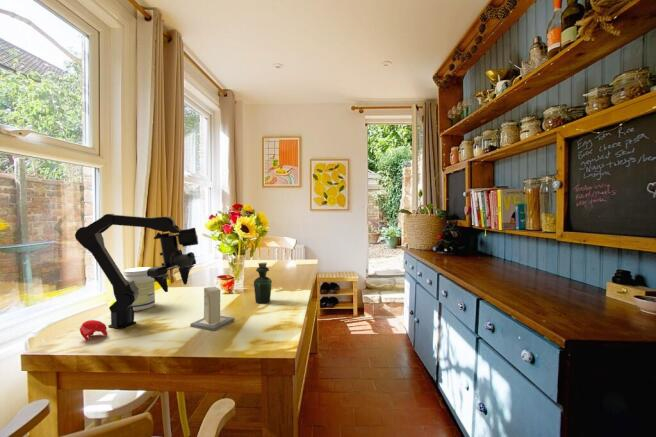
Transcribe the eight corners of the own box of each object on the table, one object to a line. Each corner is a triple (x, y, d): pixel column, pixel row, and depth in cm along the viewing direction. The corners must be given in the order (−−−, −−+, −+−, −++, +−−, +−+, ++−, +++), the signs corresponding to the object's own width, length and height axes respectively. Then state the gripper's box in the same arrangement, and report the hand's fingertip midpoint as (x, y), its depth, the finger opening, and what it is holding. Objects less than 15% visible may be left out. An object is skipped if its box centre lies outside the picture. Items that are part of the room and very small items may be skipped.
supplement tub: (161, 303, 143) (160, 266, 142) (142, 312, 131) (141, 272, 130) (136, 302, 144) (135, 266, 143) (115, 311, 132) (114, 271, 131)
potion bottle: (251, 301, 146) (250, 263, 145) (267, 298, 150) (266, 261, 150) (258, 305, 139) (258, 265, 138) (274, 302, 144) (274, 263, 143)
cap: (75, 334, 100) (94, 322, 102) (76, 323, 104) (94, 312, 106) (93, 348, 104) (111, 336, 106) (93, 336, 109) (110, 325, 111)
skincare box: (203, 319, 119) (203, 287, 118) (215, 317, 122) (214, 286, 121) (209, 324, 114) (208, 291, 114) (221, 321, 117) (220, 289, 116)
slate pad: (213, 330, 111) (213, 327, 111) (190, 326, 115) (190, 323, 115) (234, 320, 121) (234, 317, 121) (212, 316, 125) (211, 314, 125)
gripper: (165, 252, 109) (172, 296, 110) (203, 243, 127) (209, 280, 128) (142, 254, 113) (149, 296, 114) (182, 244, 131) (188, 281, 132)
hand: (176, 288), depth 122 cm, fingers open, 9 cm apart
